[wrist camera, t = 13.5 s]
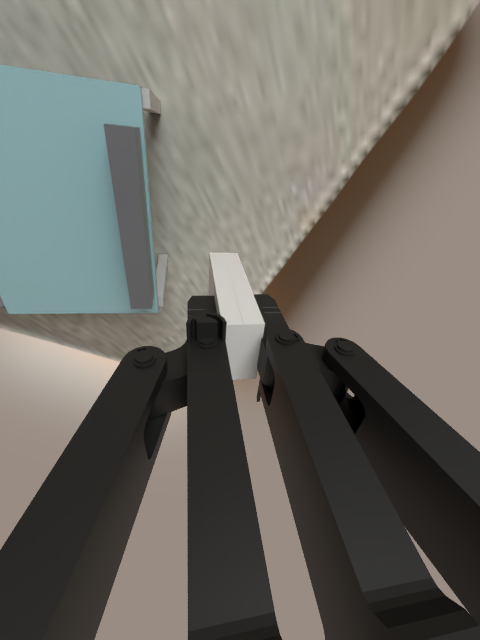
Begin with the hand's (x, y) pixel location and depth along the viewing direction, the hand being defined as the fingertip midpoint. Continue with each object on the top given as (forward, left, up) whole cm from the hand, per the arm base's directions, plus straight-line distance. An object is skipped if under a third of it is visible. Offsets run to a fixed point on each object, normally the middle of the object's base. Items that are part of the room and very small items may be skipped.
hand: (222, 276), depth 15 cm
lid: (-10, 0, -9) cm, 14 cm away
